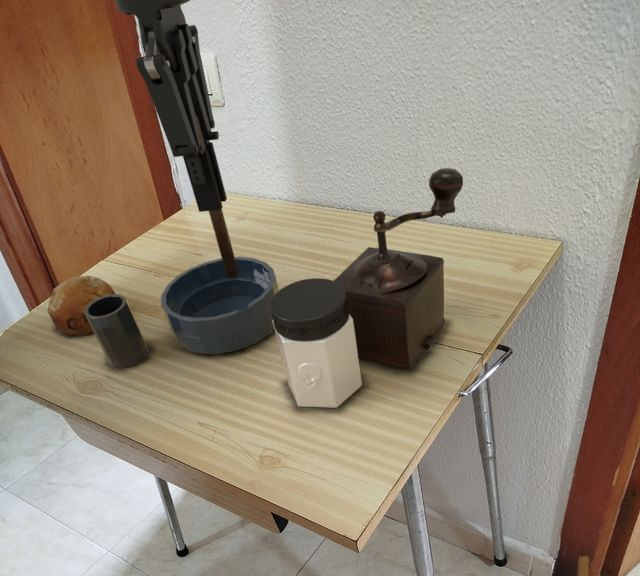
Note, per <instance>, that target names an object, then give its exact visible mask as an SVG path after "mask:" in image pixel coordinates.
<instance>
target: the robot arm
mask: <svg viewBox="0 0 640 576" xmlns="http://www.w3.org/2000/svg"><path fill="white" fill-rule="evenodd" d="M190 1H191V0H114V2H115V6H116V8H117V10H118V12H119V13H121V14H123V15H128V16H131V15H133V16H135V17H136V18H137V24H138V29H139V35H140V41H141V46H142V49H143V53H144V56H139V57H136V59H135V63H136V68H137V70H138V72H139V73H140V76H141V78H142V79H143V81H144V83H145V84H146V87H147V90H148V92H149V94H150V97H151V100H152V103H153V106H154V109H155V111H156V114H157V116H158V119H159V122H160V123H161V127H162V129H163V132H164V134H165V136H166V137H165V138H166V140H167V142H168V145H169V148H170V150H171V153H172V156H173V157H174V158H179V157H182V158H183V162H184V165H185V169H186V172H187V175H188V179H189V182H190V185H191V188H192V192H193V195H194V199H195V202H196V205H197V209H198V212H200V213H201V212H209V211H213V210H221V209H222V210H223V203H222V202H226V201H227V199H228V198H227V193H226V190H225V186H224V185H225V184H224V182H223V178H222V174H221V170H220V166H219V162H218V158H217V156H216V155H217V154H216V150H215V147H214V144H213V143H214V142H212V141H216V140H219V137H220V135H219V130H216V131H212V130H213V129H215V127H216V122H215V119H214V114H213V110H212V103H211V100H210V94H209V90H208V89H209V88H208V85H207V79H206V75H205V70H204V65H203V61H202V56H201V51H200V50H201V48H200V40H199V31H198V28H197V26H196V25H195V24H192V25H189V24H188V23H187V21H186V17H185V14H184V11H183V9H182V5H184V4H186V3H189V2H190ZM195 115H196V116H197V117H198V121H199V124H200V128H201V132H202V136H203V139H204V143H205V147H206V150H204V148H203V145H202V141H201V136H200V132H199V128H198V124H197V120H196V116H195Z"/></svg>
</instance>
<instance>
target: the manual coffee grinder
mask: <svg viewBox="0 0 640 576" xmlns="http://www.w3.org/2000/svg"><path fill="white" fill-rule="evenodd" d="M463 178H464V177H463V175H462V174H461V172H460V171H458V170H457V169H455V168H452V167H451V168H450V167H444V168H439V169H437V170H435V171H434V172H432V173H431V175H430V176H429V178H428V187H429V189H430V191H431V192H432V194H433V195H432V196H433V198H434V200H433V203H432V205H431V207H430V210H427V211H425V210H424V211H414V212H408V213H405V214H401V215H399V216H396V217H394V218H393V219H391V220H388V221H387V222H385V221H386V213H385V212H384V211H383V210H377V211H375V212H374V214H373V216H372V217H373V221H374V225H373V231H374V232H375V233H376V236H377V245H378V247H370V246H368V247H367V248H366V249H365V250H364V251H363V252H362V253H361V254H360V255H359V256H358V257H357V258H355V259H354V260H353V261H352V262H351V263H350V264H349V266H347V267H346V268H345V269H344V270H343V271H342V272H341V273H340V274H339V275H338V276H337V277H336V278H335V279H333V281H335V282H337V283H339V284H340V285H342V286H343V287H344V289H345V291H346V294H347V301H348V308H349V314H350V316H351V317H352V319H353V322H354V330H355V337H356V344H357V352H358V359H359V360H362V361H366V362H368V363H369V362H370V363H374V364H376V365H381V366H385V367H388V368H392V369H396V370H400V371H411V370H412V369H413V368H414V366H415V365H416V364H418V362H419V361H420V360H421V359H422V358H423V356H425V354H426V353H427V352H428V351H429V350H430V349H431V348H432V347H433V346H434V344H435V343H436V341H437V338H438V336H439V335H440V333H441V332H442V329H443V327H444V325H445V323H446V318H445V278H444V277H445V275H444V274H445V273H444V270H445V269H444V267H445V266H444V264H445V260H444V258H443V257H439V256H434V255H428V254H423V253H415V252H409V251H402V250H396V249H389V248H388V247H387V237H386V235H387V234H386V232H387V231H391V230H393V229H395V228H397V227H399V226H400V225H402V224H405V223H407V222H410V221H416V220H425V219H429V218H432V217H440V218H441V219H442V218H444V216H447V215H448V214H454V213H455V212H456V205H455V200H456V198H457V196H458V194H460V192H461V191H462V188H463V186H464V179H463Z"/></svg>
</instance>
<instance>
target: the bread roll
mask: <svg viewBox="0 0 640 576" xmlns="http://www.w3.org/2000/svg"><path fill="white" fill-rule="evenodd" d="M112 294H116V292H115V290H114V289H113V287H112V286H111V285H110V284H109V283H107V281H105V280H103V279H101V278H99V277H96V276H93V275H82V276H74V277H70V278H69V279H67V280H65V281H63V282H61V283H60V284H59V285H58V286H55V287H54V288H53V290H52V294H51V295H50V297H49V300H48V307H47V313H48V315H49V317H50V318H51V321H52V322H53V324H54V325H55V327H57V329H58V330H60V331H61V332H63V333H64V334H67V335H68V336H84V335H89V334H92V333H94V332H93V330H92V328H91V326H90V324H89V322H88V321H87V319H86V317H85V312H84V310H85V309H86V307H87V306H88V304H90V303H91V302H93V301H94V300H96V299H98V298H100V297H103V296H107V295H112Z"/></svg>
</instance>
